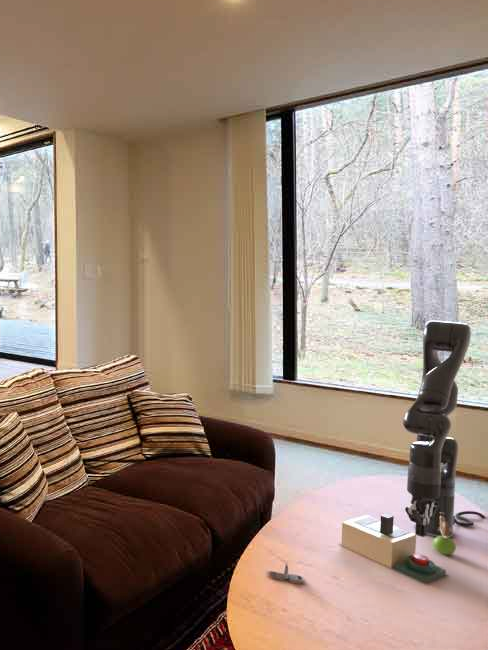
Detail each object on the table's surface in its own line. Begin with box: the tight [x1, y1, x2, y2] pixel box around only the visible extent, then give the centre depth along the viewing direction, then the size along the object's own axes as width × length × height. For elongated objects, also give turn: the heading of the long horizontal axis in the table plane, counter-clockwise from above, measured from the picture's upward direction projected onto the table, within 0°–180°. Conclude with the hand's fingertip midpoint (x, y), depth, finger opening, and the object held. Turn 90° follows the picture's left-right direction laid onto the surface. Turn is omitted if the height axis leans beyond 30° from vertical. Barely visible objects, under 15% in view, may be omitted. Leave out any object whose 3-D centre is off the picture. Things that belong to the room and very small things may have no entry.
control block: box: [394, 555, 447, 584], centre depth 159 cm, size 10×8×4 cm
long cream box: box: [341, 514, 417, 569], centre depth 171 cm, size 12×15×8 cm
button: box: [413, 553, 430, 565], centre depth 159 cm, size 4×4×2 cm
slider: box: [380, 513, 395, 535], centre depth 166 cm, size 3×2×6 cm, turn 113°
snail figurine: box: [432, 512, 457, 556], centre depth 170 cm, size 5×6×12 cm
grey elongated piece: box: [269, 562, 304, 584], centre depth 157 cm, size 8×3×4 cm, turn 65°
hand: (421, 535), depth 159 cm, fingers closed
